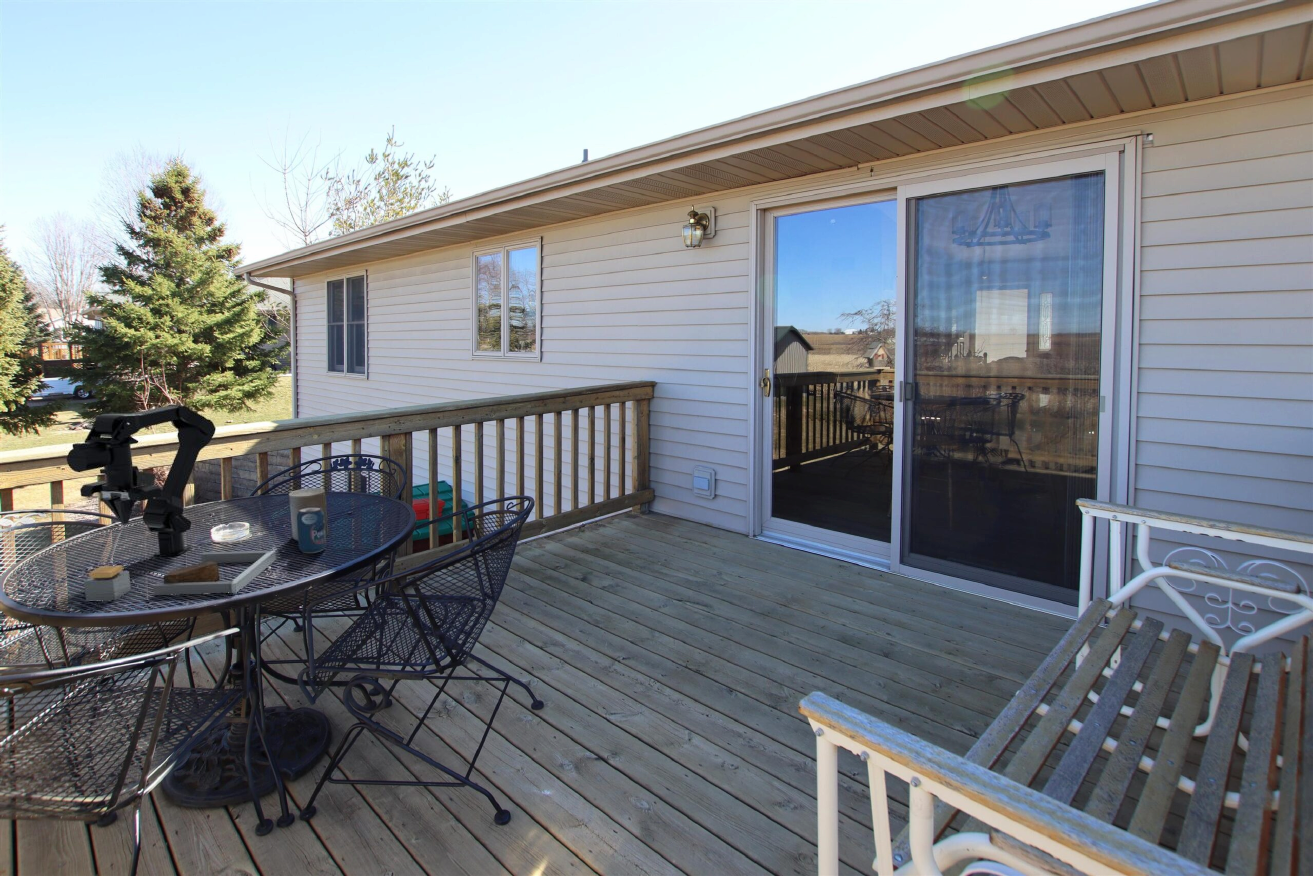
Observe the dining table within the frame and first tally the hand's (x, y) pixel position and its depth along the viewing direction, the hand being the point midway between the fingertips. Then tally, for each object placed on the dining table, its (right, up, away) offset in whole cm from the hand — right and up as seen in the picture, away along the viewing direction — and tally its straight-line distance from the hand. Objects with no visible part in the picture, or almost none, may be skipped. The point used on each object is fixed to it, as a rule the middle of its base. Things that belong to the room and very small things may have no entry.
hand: (125, 523), depth 177 cm
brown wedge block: (+23, -14, -8) cm, 28 cm away
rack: (+25, -13, -2) cm, 28 cm away
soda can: (+39, -10, +18) cm, 44 cm away
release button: (+8, -14, -16) cm, 23 cm away
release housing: (+8, -15, -16) cm, 23 cm away
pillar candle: (+32, -8, +30) cm, 45 cm away
